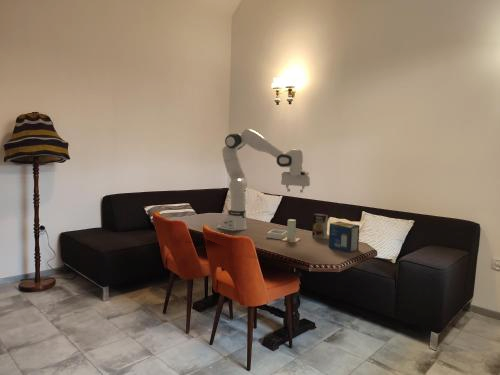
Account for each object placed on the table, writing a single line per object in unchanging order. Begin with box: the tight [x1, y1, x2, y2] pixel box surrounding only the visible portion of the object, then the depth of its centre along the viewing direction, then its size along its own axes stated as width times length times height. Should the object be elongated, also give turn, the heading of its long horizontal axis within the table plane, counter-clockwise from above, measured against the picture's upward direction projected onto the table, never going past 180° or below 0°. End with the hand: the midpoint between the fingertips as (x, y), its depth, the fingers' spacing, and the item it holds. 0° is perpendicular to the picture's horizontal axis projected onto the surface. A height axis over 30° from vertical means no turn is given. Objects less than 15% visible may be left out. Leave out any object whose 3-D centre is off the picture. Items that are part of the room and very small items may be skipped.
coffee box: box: [311, 213, 329, 239], centre depth 256 cm, size 9×6×16 cm
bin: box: [266, 228, 287, 240], centre depth 254 cm, size 11×12×4 cm
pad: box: [281, 237, 301, 244], centre depth 245 cm, size 10×10×1 cm
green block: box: [286, 218, 297, 240], centre depth 245 cm, size 4×4×13 cm
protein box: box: [328, 221, 361, 253], centre depth 227 cm, size 10×15×16 cm
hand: (295, 192), depth 257 cm, fingers open, 8 cm apart
